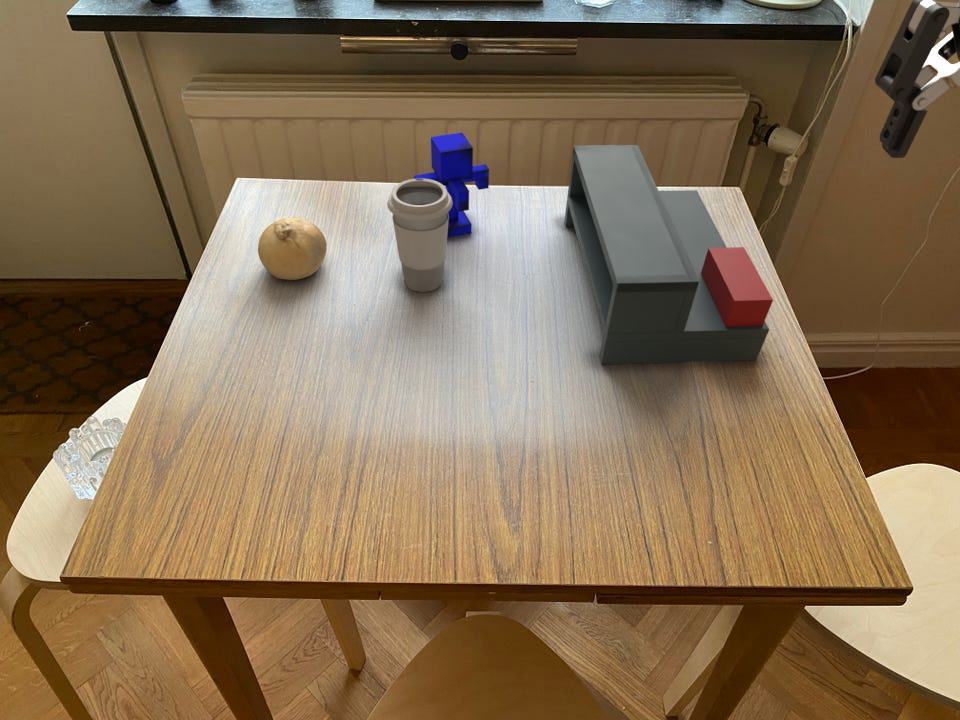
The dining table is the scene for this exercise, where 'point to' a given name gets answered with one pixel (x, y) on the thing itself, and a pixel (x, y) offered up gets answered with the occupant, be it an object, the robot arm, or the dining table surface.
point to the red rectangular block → (736, 287)
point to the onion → (292, 248)
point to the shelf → (649, 263)
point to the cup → (421, 231)
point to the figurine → (456, 176)
